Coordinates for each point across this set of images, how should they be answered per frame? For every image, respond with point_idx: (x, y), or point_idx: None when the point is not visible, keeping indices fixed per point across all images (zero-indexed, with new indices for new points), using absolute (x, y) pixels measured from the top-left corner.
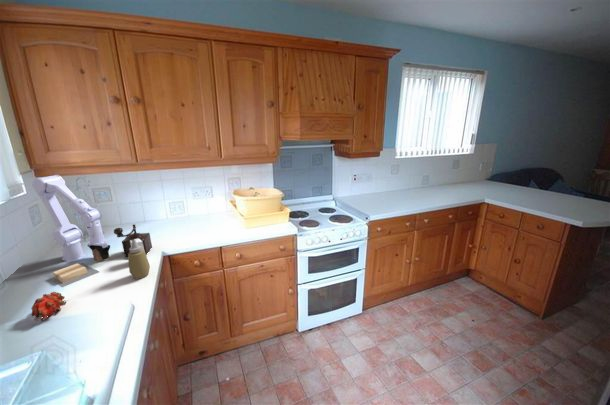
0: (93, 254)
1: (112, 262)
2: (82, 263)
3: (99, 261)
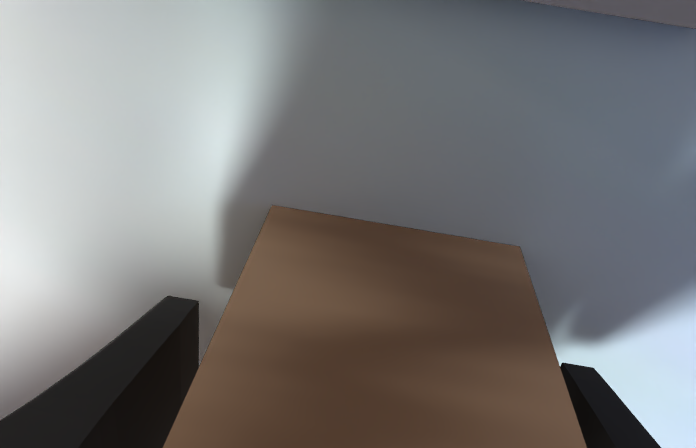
0: (507, 386)
1: (37, 301)
2: (680, 9)
3: (259, 237)
